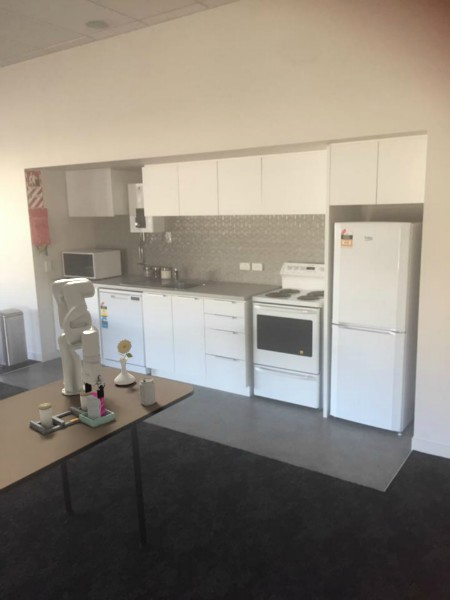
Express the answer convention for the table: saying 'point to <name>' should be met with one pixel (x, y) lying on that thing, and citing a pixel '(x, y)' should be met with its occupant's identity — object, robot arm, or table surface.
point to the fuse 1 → (46, 415)
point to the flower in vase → (124, 364)
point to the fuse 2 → (84, 400)
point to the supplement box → (95, 406)
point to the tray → (99, 421)
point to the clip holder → (57, 421)
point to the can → (147, 391)
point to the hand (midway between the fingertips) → (94, 394)
